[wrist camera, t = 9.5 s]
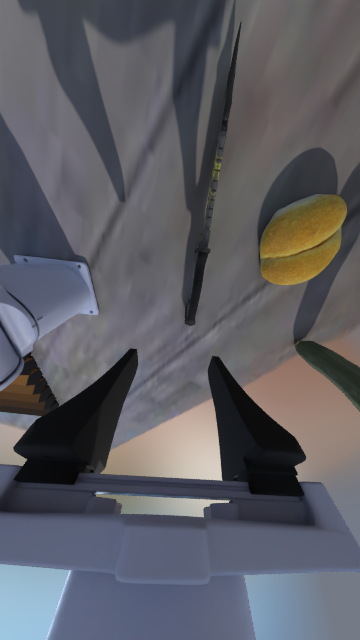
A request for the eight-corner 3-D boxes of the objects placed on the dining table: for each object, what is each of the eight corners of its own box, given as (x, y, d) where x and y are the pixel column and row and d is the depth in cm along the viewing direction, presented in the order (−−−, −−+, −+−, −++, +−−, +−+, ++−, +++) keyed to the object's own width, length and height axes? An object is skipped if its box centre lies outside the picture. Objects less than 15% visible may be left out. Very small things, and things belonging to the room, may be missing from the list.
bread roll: (258, 289, 19) (275, 299, 16) (253, 219, 15) (274, 212, 12) (322, 269, 18) (356, 275, 14) (337, 183, 13) (390, 163, 10)
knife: (216, 85, 12) (238, -22, 7) (232, 88, 12) (264, -16, 7) (184, 316, 22) (185, 331, 17) (193, 317, 22) (196, 332, 17)
